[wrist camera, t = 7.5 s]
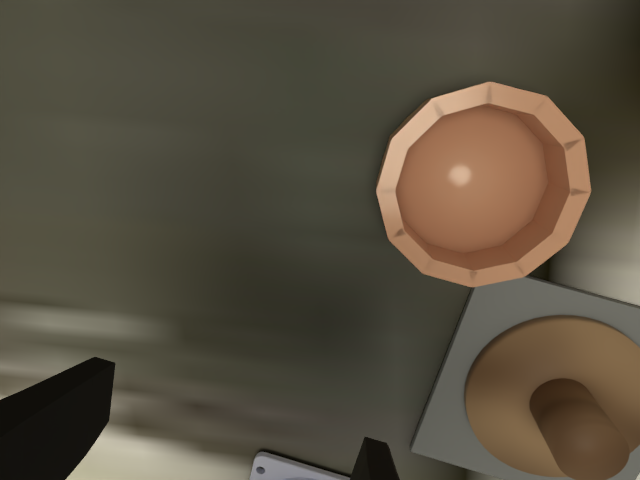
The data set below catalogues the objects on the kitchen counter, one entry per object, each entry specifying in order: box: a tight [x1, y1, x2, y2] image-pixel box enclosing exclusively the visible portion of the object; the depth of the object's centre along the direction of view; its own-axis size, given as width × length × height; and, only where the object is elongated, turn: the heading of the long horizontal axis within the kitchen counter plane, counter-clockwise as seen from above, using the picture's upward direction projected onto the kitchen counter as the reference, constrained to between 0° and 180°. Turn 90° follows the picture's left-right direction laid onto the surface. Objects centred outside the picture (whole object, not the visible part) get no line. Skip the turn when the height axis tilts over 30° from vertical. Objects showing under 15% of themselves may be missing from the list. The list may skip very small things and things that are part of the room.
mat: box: [410, 275, 640, 480], centre depth 22 cm, size 11×11×1 cm
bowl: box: [376, 82, 591, 287], centre depth 18 cm, size 8×8×3 cm
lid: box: [464, 315, 640, 480], centre depth 20 cm, size 9×9×4 cm
